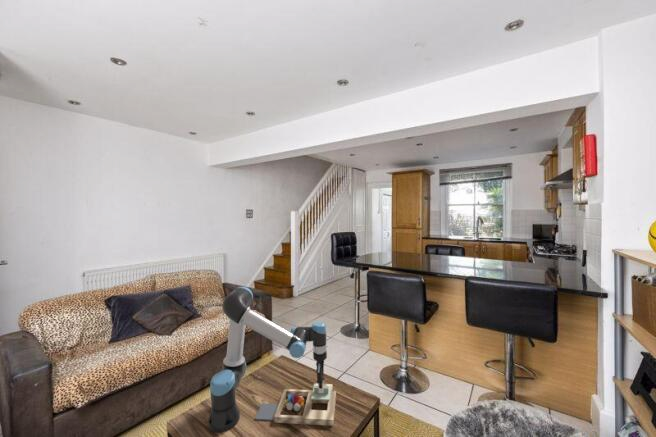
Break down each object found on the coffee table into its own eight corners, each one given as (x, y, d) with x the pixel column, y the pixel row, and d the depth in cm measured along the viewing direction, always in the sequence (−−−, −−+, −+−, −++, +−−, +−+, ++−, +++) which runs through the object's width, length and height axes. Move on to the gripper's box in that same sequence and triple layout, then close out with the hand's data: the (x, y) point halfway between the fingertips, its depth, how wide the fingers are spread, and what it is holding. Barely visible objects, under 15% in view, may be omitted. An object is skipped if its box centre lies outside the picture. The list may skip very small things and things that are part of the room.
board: (274, 422, 139) (273, 416, 139) (287, 387, 166) (287, 382, 166) (333, 425, 136) (332, 419, 136) (336, 389, 163) (336, 384, 162)
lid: (311, 399, 150) (310, 393, 150) (314, 386, 161) (313, 380, 161) (329, 400, 149) (329, 394, 149) (331, 387, 160) (331, 381, 160)
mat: (254, 419, 141) (254, 418, 141) (261, 404, 152) (261, 403, 152) (275, 420, 140) (275, 419, 140) (281, 405, 151) (281, 404, 151)
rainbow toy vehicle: (301, 413, 144) (300, 400, 144) (283, 411, 146) (283, 398, 146) (305, 402, 153) (305, 389, 152) (289, 400, 155) (289, 387, 154)
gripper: (325, 357, 145) (326, 400, 146) (327, 345, 158) (329, 385, 159) (311, 357, 146) (312, 400, 147) (315, 344, 159) (316, 384, 160)
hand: (321, 392), depth 153 cm, fingers closed
